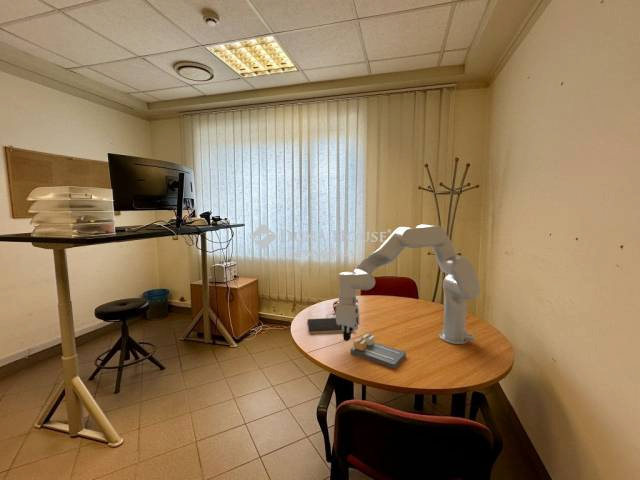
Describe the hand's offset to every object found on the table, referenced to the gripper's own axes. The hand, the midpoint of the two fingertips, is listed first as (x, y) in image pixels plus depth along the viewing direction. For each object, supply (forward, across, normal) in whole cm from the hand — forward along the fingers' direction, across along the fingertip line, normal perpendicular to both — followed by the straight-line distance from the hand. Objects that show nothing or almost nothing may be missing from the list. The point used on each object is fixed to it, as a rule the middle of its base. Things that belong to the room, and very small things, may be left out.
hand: (346, 339), depth 127 cm
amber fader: (+2, -7, 0) cm, 7 cm away
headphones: (+4, +25, -34) cm, 42 cm away
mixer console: (+4, -14, -3) cm, 15 cm away
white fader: (+2, -7, -6) cm, 10 cm away
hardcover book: (+5, +20, -15) cm, 25 cm away
